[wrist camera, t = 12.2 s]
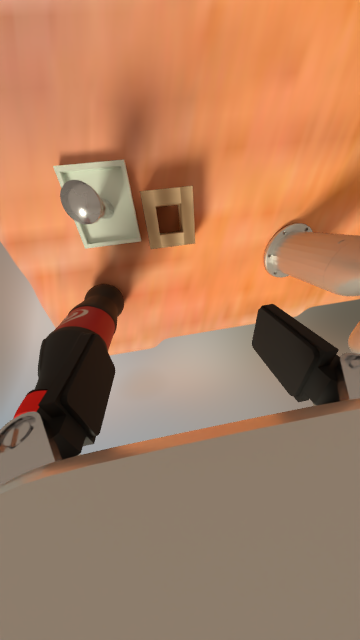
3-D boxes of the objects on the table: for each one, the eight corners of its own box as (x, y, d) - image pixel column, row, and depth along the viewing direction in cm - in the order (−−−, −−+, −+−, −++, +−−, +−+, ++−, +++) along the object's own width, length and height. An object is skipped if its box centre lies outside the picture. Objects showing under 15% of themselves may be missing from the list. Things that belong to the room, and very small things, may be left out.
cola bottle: (84, 283, 38) (-53, 410, 13) (119, 278, 38) (57, 389, 13) (97, 314, 42) (17, 451, 17) (129, 309, 43) (97, 434, 18)
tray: (125, 162, 28) (123, 159, 27) (141, 240, 35) (141, 241, 33) (58, 169, 27) (52, 166, 26) (88, 247, 34) (85, 248, 32)
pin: (113, 192, 29) (92, 177, 19) (120, 221, 32) (105, 222, 22) (87, 195, 29) (52, 181, 19) (97, 224, 32) (71, 226, 21)
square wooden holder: (187, 190, 31) (192, 185, 27) (190, 240, 36) (195, 243, 32) (141, 195, 31) (140, 191, 26) (150, 245, 36) (150, 249, 31)
